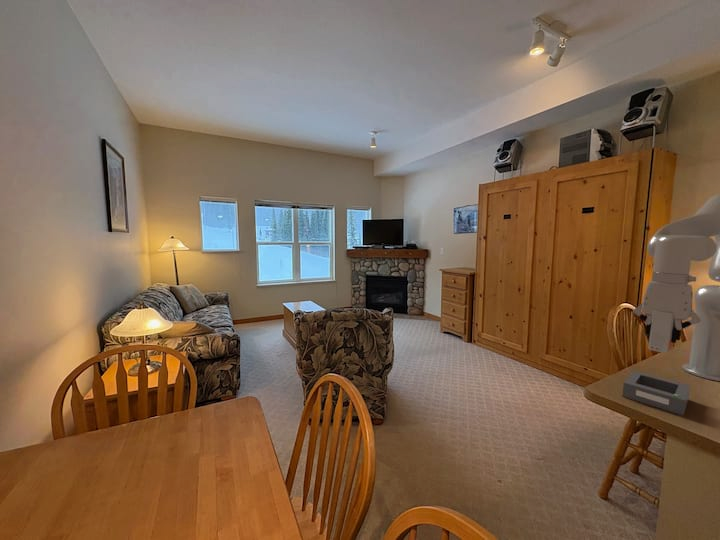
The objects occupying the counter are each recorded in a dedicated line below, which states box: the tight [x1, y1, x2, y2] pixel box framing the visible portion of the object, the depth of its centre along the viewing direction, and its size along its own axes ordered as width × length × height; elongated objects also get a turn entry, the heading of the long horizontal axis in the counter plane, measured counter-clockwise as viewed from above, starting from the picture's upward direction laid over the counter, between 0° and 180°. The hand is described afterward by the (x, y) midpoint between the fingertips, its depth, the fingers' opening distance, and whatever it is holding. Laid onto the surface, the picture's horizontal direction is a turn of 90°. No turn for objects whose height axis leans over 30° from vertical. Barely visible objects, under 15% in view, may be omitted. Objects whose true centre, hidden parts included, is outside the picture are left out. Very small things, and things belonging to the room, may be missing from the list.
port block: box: [621, 370, 691, 416], centre depth 93 cm, size 13×13×5 cm
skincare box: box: [647, 311, 676, 355], centre depth 91 cm, size 6×4×12 cm
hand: (661, 338), depth 92 cm, fingers closed on skincare box, 4 cm apart
